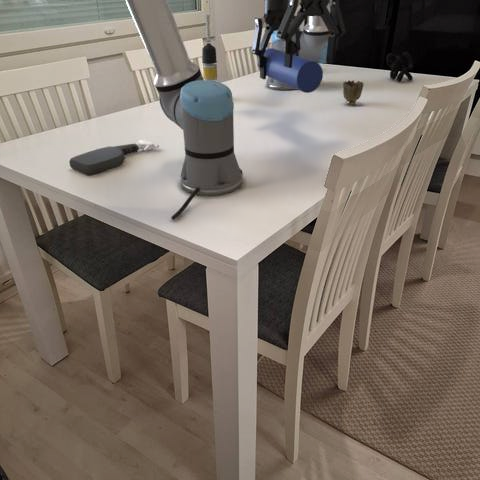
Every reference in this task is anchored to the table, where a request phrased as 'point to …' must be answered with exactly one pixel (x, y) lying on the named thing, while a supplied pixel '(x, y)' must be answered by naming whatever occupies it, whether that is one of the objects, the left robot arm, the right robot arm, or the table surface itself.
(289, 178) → the table surface
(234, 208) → the table surface
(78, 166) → the spray bottle
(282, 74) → the rod
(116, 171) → the table surface
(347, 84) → the cup
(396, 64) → the squiggle
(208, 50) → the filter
